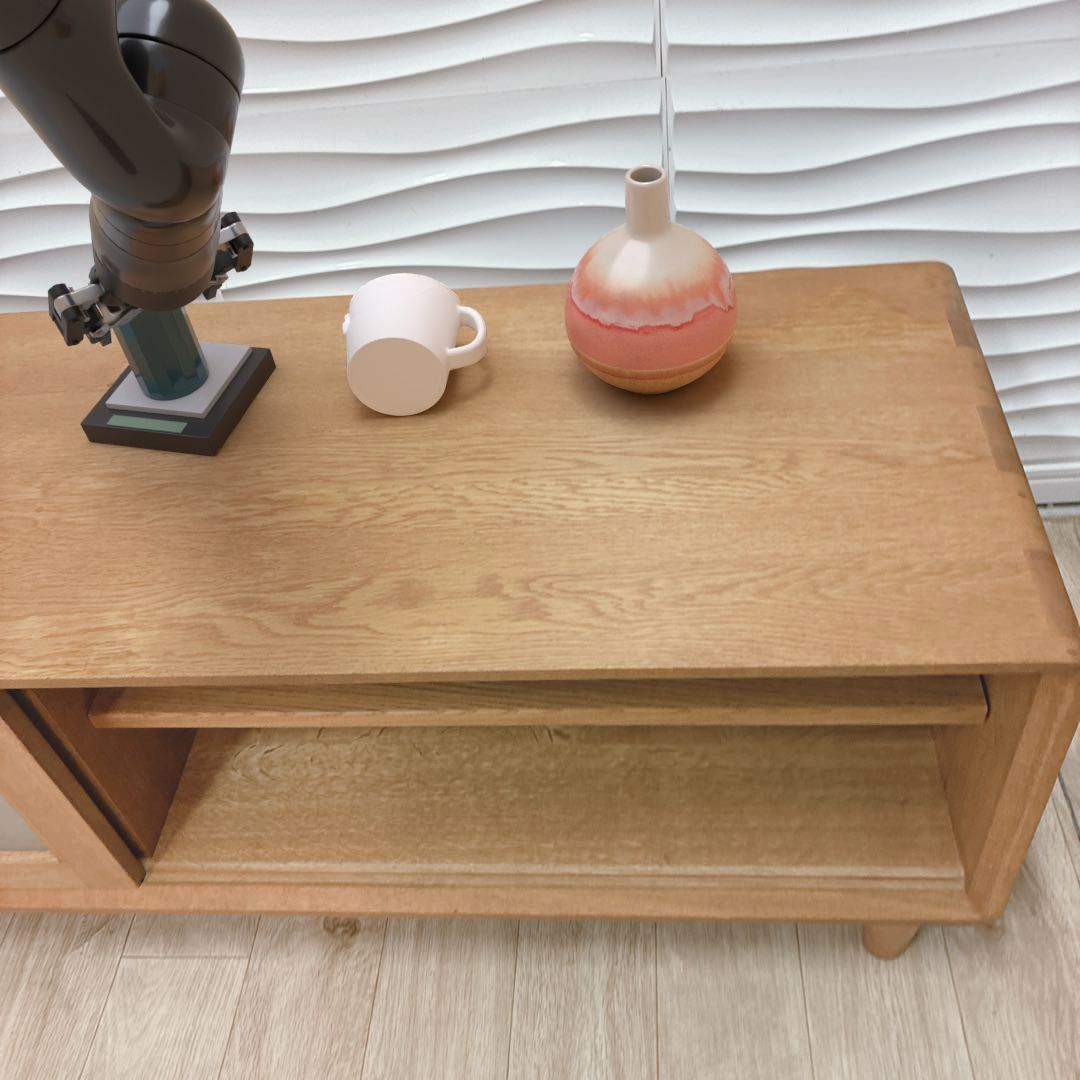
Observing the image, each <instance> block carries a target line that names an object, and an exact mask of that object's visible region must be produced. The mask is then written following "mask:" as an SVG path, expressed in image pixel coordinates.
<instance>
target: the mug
mask: <svg viewBox="0 0 1080 1080" xmlns="http://www.w3.org/2000/svg"><path fill="white" fill-rule="evenodd" d="M461 327H468V328H470V329H473V330H474V332H476V337H475V338H474V340H472V342H470V343H467V344H465V345H461V346H458V347H456V346H457V342H458V338H459V334H460V331H461ZM342 334H343V338H344V341H345V349H346V350H345V351H346V352H345V353H346V355H345V356H346V377H347V383H348V386H349V389H350V390H351V393H353V395H354V396H355V397H356V399H358V401H360V403H362V404H363V405H365V406H366V407H368V408H369V409H371V410H373V411H375V412H378V413H381V414H384V415H389V416H394V417H395V416H397V417H403V416H412V415H416V414H420V413H422V412H425V411H427V410H428V409H430V408H431V407H434V405H435V404H437V403H438V402H439V400H440V399H441V398H442V397H443V395H444V393H445V391H446V388H447V387H446V386H447V383H448V379H449V375H450V371H452V370H456V369H461V368H465V367H470V366H472V365H474V364H476V363H479V362H480V361H481V360H482V359H483V357H485V355H486V353H487V351H488V347H489V337H488V330H487V326H486V321H485V320H484V318H483V316H482V315H481V314H480V312H478V311H477V310H476V309H474V308H472V307H470V306H465V305H463V304H462V302H461V299H460V298H459V296H458V295H457V293H455V292H454V291H453V290H452V289H450V288H449V287H448V286H447V285H445V284H444V283H442V282H441V281H439V280H437V279H435V278H432V277H430V276H426V275H422V274H419V273H418V274H416V273H409V272H399V273H391V274H386V275H381V276H379V277H376V278H373V279H371V280H368V281H367V282H366V283H365V284H363V285H362V286H360V287H359V288H358V289H357V290H356V291H355V293H354V294H353V296H352V297H351V298H350V301H349V305H348V312H347V313H346V314H344V322H342Z"/></svg>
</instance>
